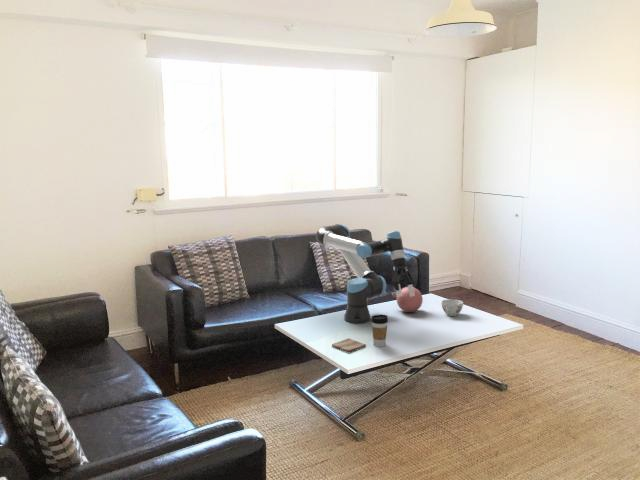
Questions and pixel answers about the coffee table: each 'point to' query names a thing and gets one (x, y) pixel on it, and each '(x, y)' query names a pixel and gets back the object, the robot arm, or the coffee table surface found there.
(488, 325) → the coffee table surface
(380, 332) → the coffee cup
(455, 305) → the teacup
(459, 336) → the coffee table surface
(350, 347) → the plate
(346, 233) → the robot arm
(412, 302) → the pink rubber ball
